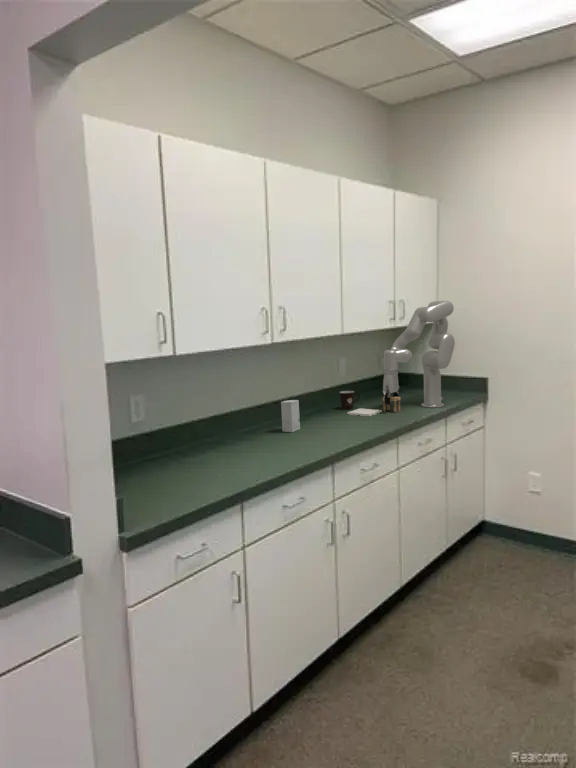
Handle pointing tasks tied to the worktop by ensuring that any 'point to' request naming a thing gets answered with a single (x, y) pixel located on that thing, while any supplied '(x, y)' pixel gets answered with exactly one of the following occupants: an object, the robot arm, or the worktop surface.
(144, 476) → the worktop surface
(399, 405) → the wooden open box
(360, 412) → the white board
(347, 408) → the coffee mug
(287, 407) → the skincare box
